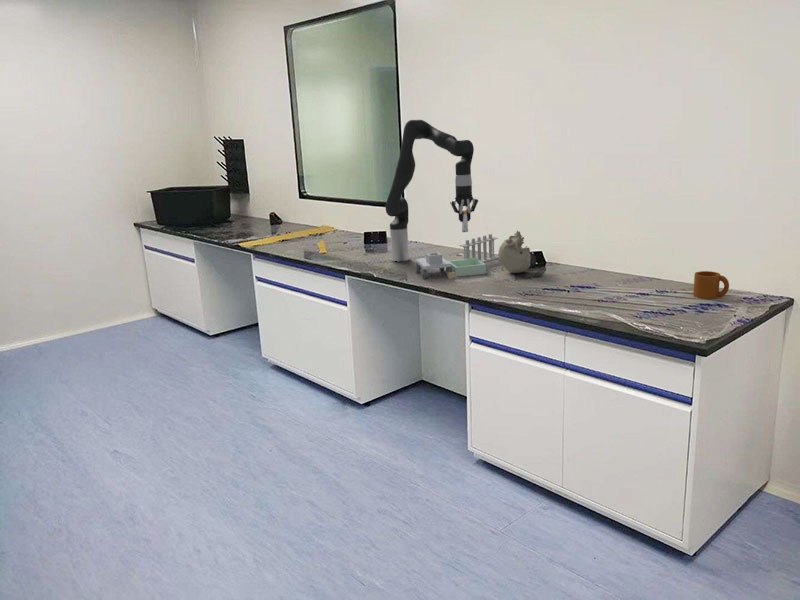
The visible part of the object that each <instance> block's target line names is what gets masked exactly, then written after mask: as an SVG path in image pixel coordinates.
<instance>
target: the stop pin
mask: <svg viewBox="0 0 800 600" xmlns="http://www.w3.org/2000/svg"><path fill="white" fill-rule="evenodd" d="M462 214H463V222H461V232H462V233H468V232H469V224H468V223H469V221H468V213H467V210H466V209H464V210H463V209H462Z"/></svg>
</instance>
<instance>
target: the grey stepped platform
mask: <svg viewBox="0 0 800 600" xmlns="http://www.w3.org/2000/svg"><path fill="white" fill-rule="evenodd" d="M414 261H415V263H414V269H415V273H416V272H417V273H416V274H420V273H421V274H420V275H421V279H423V280H425V279H426V278H427V279H428V270H433V269H434V270H435V269H439V271H444V270H445V274H446V277H448V278H447V279H456V276H455V273H454V272H452V268H451V263H450V262H448V261H449V260H447V259H445V258H444V256H443V254H442V253H441V252H438V251H437V252H436V251H435V252H427V253H425V257H419V258H415V259H414ZM419 272H420V273H419Z"/></svg>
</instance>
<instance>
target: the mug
mask: <svg viewBox="0 0 800 600" xmlns="http://www.w3.org/2000/svg"><path fill="white" fill-rule="evenodd" d="M693 280H694V281H693V293H692V295H693V297H694V298H696V297H697V298H696V299H701V300H715V299H718V298H722V297H724V296H726V295H727V293H728V292H729V289H730V283H729V280H728V278H727V277H726V276H724V275H721V273H720V272H717V271H709V270H705V271H704V270H702V271H696V272H694V279H693ZM721 282H722V283H723V289H722V290H720V283H721Z"/></svg>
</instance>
